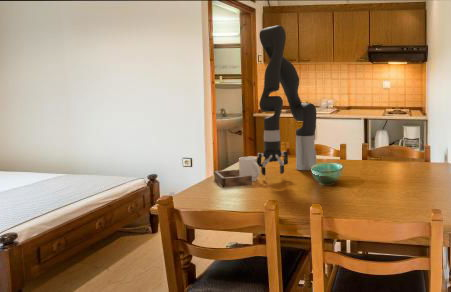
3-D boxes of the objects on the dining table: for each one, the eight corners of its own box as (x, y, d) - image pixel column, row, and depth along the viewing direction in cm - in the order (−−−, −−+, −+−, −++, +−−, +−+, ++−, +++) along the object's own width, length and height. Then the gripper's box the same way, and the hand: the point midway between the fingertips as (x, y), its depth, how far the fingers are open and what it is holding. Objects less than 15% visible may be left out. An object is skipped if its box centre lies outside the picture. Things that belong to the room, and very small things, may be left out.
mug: (266, 181, 229) (265, 158, 228) (252, 184, 225) (251, 161, 223) (249, 177, 239) (249, 155, 238) (235, 179, 234) (235, 158, 233)
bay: (241, 177, 240) (241, 169, 239) (251, 185, 223) (251, 176, 222) (214, 179, 237) (214, 171, 236) (222, 187, 220) (222, 178, 219)
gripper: (283, 137, 237) (284, 171, 239) (254, 139, 233) (255, 174, 236) (289, 139, 229) (290, 174, 232) (259, 141, 226) (260, 177, 228)
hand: (272, 174), depth 234 cm, fingers open, 8 cm apart
